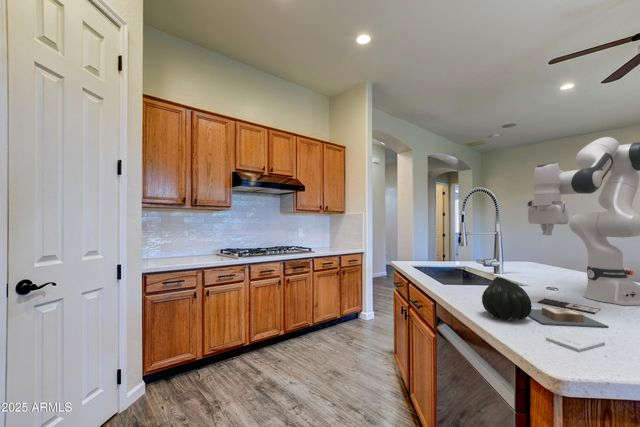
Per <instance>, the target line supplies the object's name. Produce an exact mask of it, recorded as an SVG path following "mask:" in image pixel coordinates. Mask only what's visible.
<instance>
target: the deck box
mask: <svg viewBox="0 0 640 427" xmlns="http://www.w3.org/2000/svg"><path fill="white" fill-rule="evenodd" d="M541 309H542V315H544V316H546V317H548V318H550V319H552V320H554V321H564V322H584V316H585V315H584V314H582V313H580V312H579V311H575V310H571V309H565V308H560V307H541Z"/></svg>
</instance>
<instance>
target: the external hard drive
mask: <svg viewBox="0 0 640 427" xmlns="http://www.w3.org/2000/svg"><path fill="white" fill-rule="evenodd" d="M545 341H547V342H549V343H551V344H554V345H557V346H561V347H564V348H566V349H569V350H571V351H574V352H576V353H581V352H585V351H588V350H589V351H590V350H593V349H596V348H600V347H603V346H606V345H605V344H606V341H604V340H601V339H598V338H594V337H592V336H587V335H585V334H583V333H582V334H581V333H578V332H575V331H569V332H564V333H560V334H557V335H553V336H549V337H546V338H545ZM599 346H600V347H599Z"/></svg>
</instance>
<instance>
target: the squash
mask: <svg viewBox="0 0 640 427" xmlns="http://www.w3.org/2000/svg"><path fill="white" fill-rule="evenodd" d="M481 303H482V304H481V305H482V307H483V308H484V309H485V311H486V312H487V313H488V314H490V316H492V317H493V318H496V319H501V320H503V321H509V320H511V319H512V320H523V319H527V318H529V317H528V316H529V314H530V313H531V309H533V308H532V300H531V298H530V296H529V295H528V293H527V292H526V290H525V289H523V287H521V286H520V285H518V284H517V283H514V282H512V281H510V280H508V279H506V278H503V277H500V276H499V277H498V276H495V277H494V278H493V279H492V281H491V282H490V283H489V285H488V286H487V287H486V288H485V290H484V291H483V293H482V296H481Z"/></svg>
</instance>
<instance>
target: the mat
mask: <svg viewBox="0 0 640 427" xmlns="http://www.w3.org/2000/svg"><path fill="white" fill-rule="evenodd" d="M527 318H530V319H532V320H533V321H535V322H537V323H538V324H540V325H542V326H557V327H558V326H560V327H581V328H597V329H599V328H601V329H602V328H603V329H609V325H607V324H605V323H602V322H600V321H597V320H596V319H593V318H590V317H588V316H585V315H584V322H564V321H554V320H552V319H550V318H548V317H546V316H544V315H542V308H541V309H536V308H531V313H530V314H529V316H528V317H527Z"/></svg>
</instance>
